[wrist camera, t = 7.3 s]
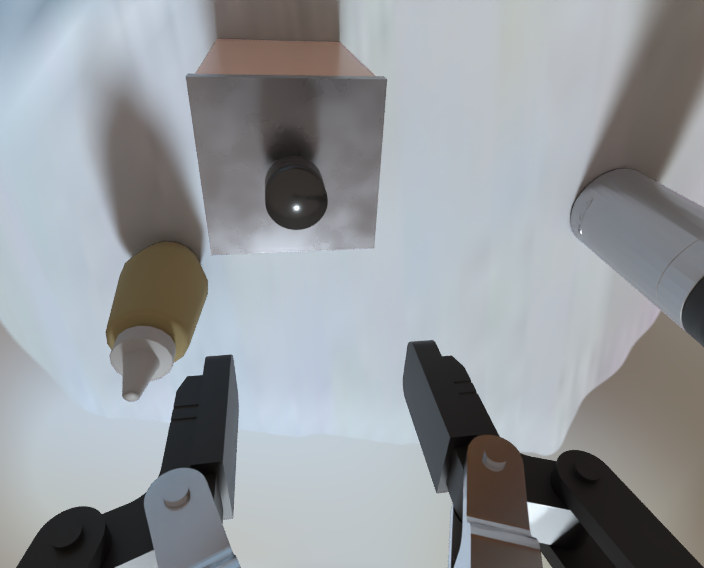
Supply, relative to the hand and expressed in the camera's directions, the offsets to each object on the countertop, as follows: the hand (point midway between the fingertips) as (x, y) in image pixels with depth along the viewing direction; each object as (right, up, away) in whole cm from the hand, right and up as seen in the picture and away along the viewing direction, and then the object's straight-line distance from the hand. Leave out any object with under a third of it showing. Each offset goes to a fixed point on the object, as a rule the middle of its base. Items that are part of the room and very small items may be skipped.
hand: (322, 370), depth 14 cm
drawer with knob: (-5, +18, +26) cm, 32 cm away
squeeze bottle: (-18, +5, +35) cm, 39 cm away
